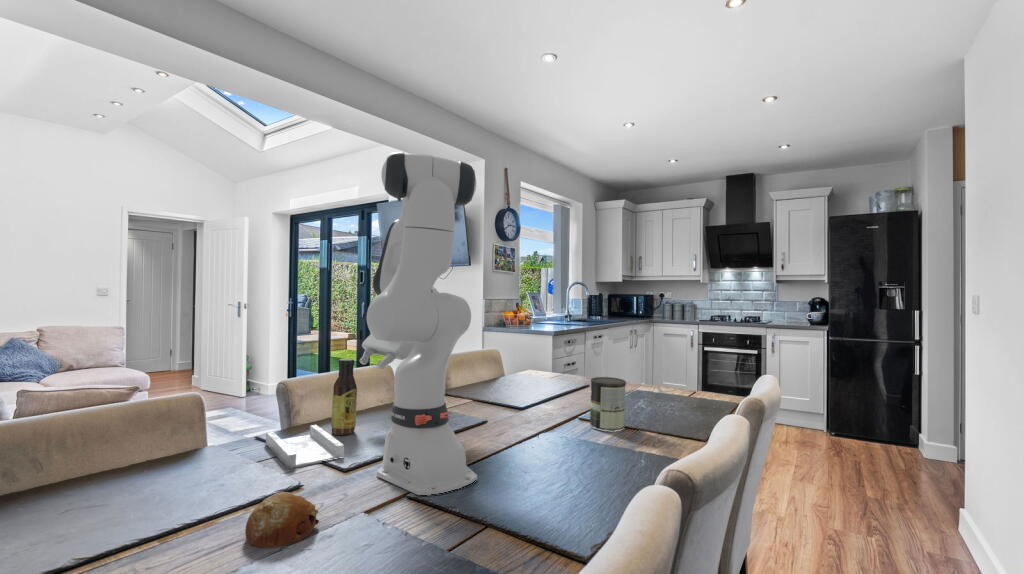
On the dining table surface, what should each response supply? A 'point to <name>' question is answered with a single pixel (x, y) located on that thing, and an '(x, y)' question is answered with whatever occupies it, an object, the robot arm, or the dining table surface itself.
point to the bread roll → (281, 521)
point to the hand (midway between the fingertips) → (370, 365)
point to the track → (305, 448)
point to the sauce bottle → (344, 400)
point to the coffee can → (607, 403)
